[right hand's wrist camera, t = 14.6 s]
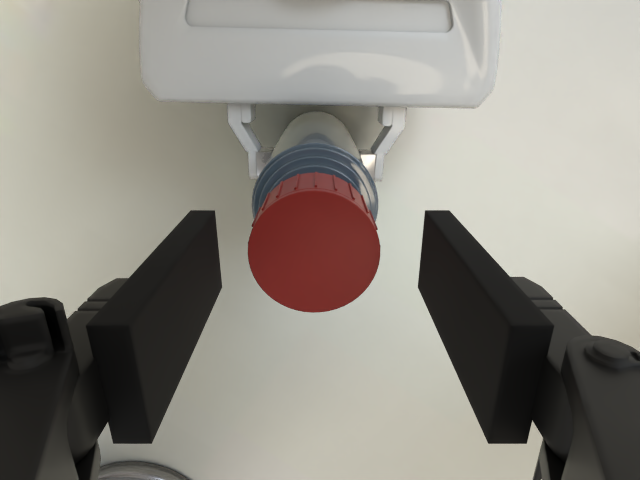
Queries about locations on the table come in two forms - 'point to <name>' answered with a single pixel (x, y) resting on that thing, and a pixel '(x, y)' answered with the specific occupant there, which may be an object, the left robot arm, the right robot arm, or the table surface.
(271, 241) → the cap
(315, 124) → the bottle
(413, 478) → the table surface
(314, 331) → the table surface
